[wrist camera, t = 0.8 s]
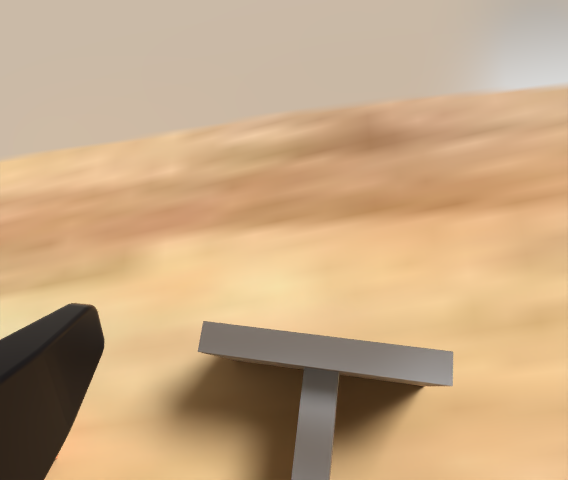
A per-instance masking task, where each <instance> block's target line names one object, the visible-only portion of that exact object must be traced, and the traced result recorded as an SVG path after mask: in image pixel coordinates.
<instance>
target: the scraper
mask: <svg viewBox="0 0 568 480" xmlns="http://www.w3.org/2000/svg"><path fill="white" fill-rule="evenodd" d="M198 352H202V353H206V354H210V355H214V356H218V357H222V358H226V359H231V360H235V361H242V362H250V363H257V364H264V365H272V366H279V367H286V368H294V369H301V370H304V374H303V382H302V391H301V399H300V408H299V417H298V425H297V434H296V443H295V451H294V460H293V469H292V477H291V480H330V472H331V461H332V450H333V440H334V429H335V418H336V407H337V396H338V385H339V375H345V376H352V377H360V378H367V379H374V380H382V381H389V382H396V383H403V384H411V385H418V386H453V352H451V351H443V350H435V349H427V348H419V347H411V346H402V345H394V344H386V343H378V342H370V341H362V340H354V339H345V338H337V337H329V336H321V335H313V334H305V333H296V332H288V331H280V330H272V329H264V328H256V327H247V326H239V325H231V324H223V323H215V322H207V321H203V326H202V332H201V337H200V342H199V347H198Z"/></svg>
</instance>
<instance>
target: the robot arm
mask: <svg viewBox="0 0 568 480" xmlns="http://www.w3.org/2000/svg"><path fill="white" fill-rule="evenodd" d="M103 349H104V336H103V332H102V328H101V323H100V319H99V315H98V311H97V309H96V308H95V307H94V306H93V305H88V304H78V303H71V304H68V305H66V306H64V307H62V308H60V309H59V310H57V311H55V312H53V313H51V314H49V315H47V316H45V317H43V318H41V319H39V320H37V321H35V322H34V323H32V324H30V325H28V326H26V327H24V328H22V329H20V330H18V331H16V332H14V333H12V334H10V335H9V336H7V337H5V338H3V339H1V340H0V480H44V479H45V477H46V475H47V473H48V471H49V470H50V468H51V466H52V464H53V462H54V460H55V458H56V457H57V455H58V453H59V451H60V449H61V447H62V446H63V444H64V442H65V440H66V438H67V436H68V434H69V432H70V430H71V427H72V425H73V423H74V421H75V418H76V416H77V414H78V411H79V409H80V406H81V404H82V402H83V399H84V397H85V394H86V392H87V389H88V387H89V385H90V382H91V380H92V377H93V375H94V373H95V370H96V368H97V365H98V363H99V360H100V358H101V356H102V353H103Z"/></svg>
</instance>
